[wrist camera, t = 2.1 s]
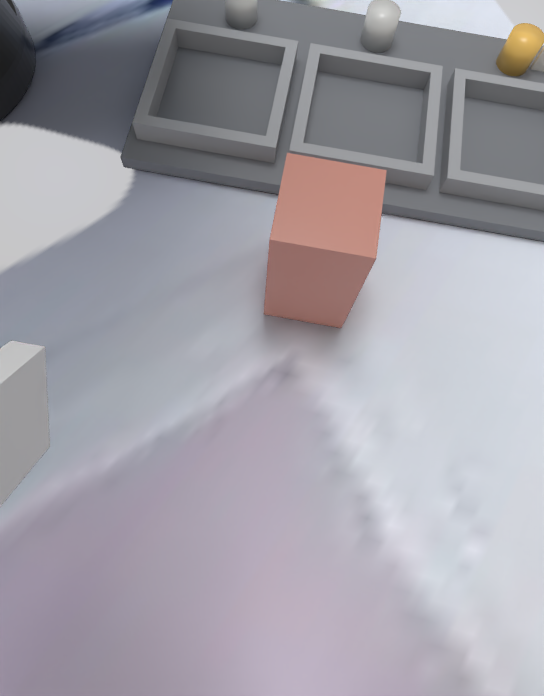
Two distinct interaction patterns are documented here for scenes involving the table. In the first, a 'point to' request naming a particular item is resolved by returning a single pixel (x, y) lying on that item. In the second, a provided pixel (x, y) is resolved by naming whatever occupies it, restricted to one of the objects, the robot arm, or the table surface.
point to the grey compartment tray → (350, 107)
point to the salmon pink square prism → (322, 239)
